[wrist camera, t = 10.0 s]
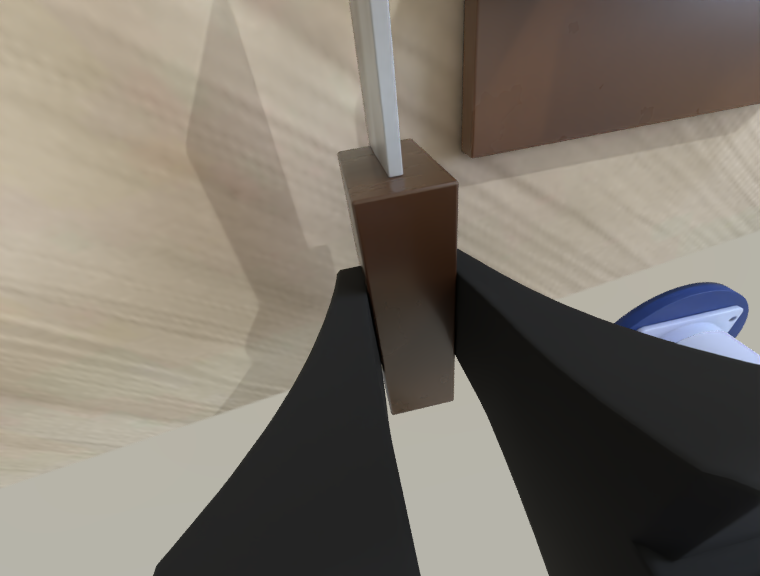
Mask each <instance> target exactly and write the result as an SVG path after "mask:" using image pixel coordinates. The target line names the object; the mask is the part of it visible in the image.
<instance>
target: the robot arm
mask: <svg viewBox="0 0 760 576" xmlns="http://www.w3.org/2000/svg"><path fill="white" fill-rule="evenodd" d="M742 312H743V309H742V308H741V307H739V306H737V305H736V306H730V307H726V308H722V309H718V310H713V311H709V312H705V313H700V314H696V315H692V316H687V317H683V318H679V319H674V320H670V321H666V322H662V323H657V324H653V325H649V326H644V327H641V328H639V329H637V330H636V331H635V330H632V329H629V328H626V327H622V326H619V325H617V324H614V323H611V322H608V321H605V320H602V319H600V318H597V317H594V316H592V315H589V314H587V313H584V312H581V311H579V310H577V309H574V308H572V307H569V306H566V305H564V304H562V303H560V302H557V301H555V300H553V299H551V298H549V297H546V296H544V295H542V294H540V293H538V292H536V291H534V290H532V289H530V288H528V287H526V286H524V285H522V284H520V283H518V282H516V281H514V280H512V279H510V278H508V277H506V276H505V275H503V274H501V273H499V272H497V271H496V270H494V269H492V268H490V267H489V266H487V265H485V264H483V263H482V262H480V261H478V260H476V259H475V258H473V257H471V256H470V255H468V254H466V253H464V252H463V251H461V250H459V249H457V271H456V316H455V355H456V357H457V359H458V361H459V363H460V364H461V366H462V368H463V370H464V372H465V374H466V376H467V378H468V379H469V381H470V383H471V385H472V387H473V389H474V391H475V392H476V394H477V396H478V398H479V400H480V402H481V404H482V406H483V408H484V410H485V412H486V414H487V416H488V419H489V421H490V423H491V426H492V428H493V431H494V433H495V435H496V438H497V440H498V443H499V445H500V447H501V450H502V452H503V455H504V457H505V460H506V462H507V465H508V467H509V470H510V472H511V475H512V477H513V480H514V483H515V485H516V488H517V490H518V493H519V495H520V498H521V501H522V503H523V506H524V509H525V511H526V514H527V517H528V519H529V522H530V525H531V527H532V530H533V532H534V535H535V538H536V540H537V543H538V546H539V549H540V552H541V555H542V557H543V560H544V563H545V566H546V569H547V571H548V574H549V576H760V355H759V354H757V353H756V352H754V351H753V350H751V349H750V348H748V347H747V346H745V345H744V344H742V343H741V342H740V341H738V340H737V339H735V338H734V337H732V336H731V335H729V334H728V331H729V330H730V329H731V327H732V326H733V324H734V323H735V322H736V320H737V319H738V318H739V316H740V315H741V314H742ZM153 576H421V575H420V571H419V566H418V562H417V557H416V552H415V548H414V543H413V538H412V533H411V529H410V524H409V519H408V515H407V510H406V505H405V501H404V497H403V491H402V487H401V482H400V477H399V472H398V468H397V463H396V459H395V454H394V449H393V445H392V440H391V434H390V428H389V421H388V414H387V405H386V397H385V389H384V381H383V373H382V365H381V359H380V354H379V349H378V344H377V339H376V334H375V329H374V323H373V318H372V313H371V308H370V303H369V298H368V293H367V287H366V283H365V279H364V276H363V272H362V268H361V266H358V267H353V268H348V269H343V270H340V271H339V272H338V274H337V279H336V285H335V289H334V293H333V296H332V300H331V303H330V306H329V309H328V311H327V314H326V317H325V320H324V323H323V325H322V328H321V330H320V332H319V335H318V337H317V339H316V341H315V344H314V346H313V348H312V350H311V353H310V355H309V357H308V359H307V361H306V363H305V365H304V366H303V368H302V370H301V372H300V374H299V376H298V377H297V379H296V381H295V383H294V385H293V386H292V388H291V390H290V391H289V393H288V395H287V396H286V398H285V400H284V401H283V403H282V404H281V406H280V407H279V409H278V411H277V412H276V414H275V416H274V417H273V418H272V420H271V421H270V423H269V424H268V426H267V427H266V429H265V430H264V432H263V433H262V435H261V436H260V437H259V439H258V440H257V441H256V443H255V444H254V445H253V447H252V448H251V450H250V451H249V452H248V454H247V455H246V456H245V458H244V459H243V460H242V462H241V463H240V465H239V466H238V467H237V469H236V470H235V471H234V473H233V474H232V475H231V477H230V478H229V479H228V481H227V482H226V483H225V484H224V486H223V487H222V488H221V489H220V491H219V492H218V493H217V494H216V496H215V497H214V498H213V499H212V500H211V501H210V503H209V504H208V505H207V506H206V507H205V509H204V510H203V511H202V512H201V513H200V515H199V516H198V517H197V518H196V519H195V521H194V522H193V523H192V524H191V525H190V527H189V528H188V529H187V530H186V531H185V533H184V534H183V535H182V536H181V537H180V539H179V540H178V541H177V542H176V543H175V545H174V546H173V547H172V548H171V549H170V551H169V552H168V553H167V554H166V555H165V556H164V558H163V559H162V560H161V561H160V562H159V563H158V565H157V566H156V569H155V572H154V575H153Z"/></svg>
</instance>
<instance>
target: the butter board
mask: <svg viewBox="0 0 760 576" xmlns="http://www.w3.org/2000/svg"><path fill="white" fill-rule="evenodd" d="M759 103H760V0H465V8H464V56H463V104H462V152H463V153H465V154H466V155H468V156H469V157H471V158H477V157H482V156H487V155H493V154H498V153H503V152H508V151H514V150H519V149H524V148H529V147H534V146H540V145H545V144H550V143H555V142H561V141H566V140H571V139H576V138H581V137H587V136H592V135H597V134H602V133H608V132H613V131H618V130H623V129H628V128H634V127H639V126H644V125H649V124H655V123H660V122H665V121H670V120H675V119H681V118H686V117H691V116H696V115H702V114H707V113H712V112H717V111H722V110H728V109H733V108H738V107H743V106H748V105H754V104H759Z"/></svg>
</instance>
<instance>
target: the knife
mask: <svg viewBox="0 0 760 576" xmlns="http://www.w3.org/2000/svg"><path fill="white" fill-rule="evenodd" d="M349 5H350V12H351V19H352V26H353V33H354V40H355V48H356V55H357V62H358V69H359V76H360V83H361V90H362V98H363V105H364V112H365V119H366V126H367V133H368V141H369V145H370V146H367V147H362V148H357V149H351V150H346V151H340V152H338V160H339V165H340V170H341V175H342V180H343V185H344V190H345V195H346V200H347V205H348V210H349V215H350V220H351V225H352V230H353V235H354V240H355V245H356V250H357V255H358V260H359V265H360V266H361V268H362V272H363V276H364V279H365V283H366V287H367V293H368V298H369V303H370V308H371V313H372V318H373V323H374V329H375V334H376V339H377V344H378V349H379V354H380V359H381V365H382V373H383V379H384V384H385V388H386V393H387V397H388V401H389V405H390V410H391V413H392V415H395V414H399V413H404V412H408V411H412V410H416V409H421V408H424V407H429V406H433V405H437V404H441V403H446V402H450V401H453V400H454V361H455V360H454V359H455V316H456V271H457V225H458V182H457V180H456V179H454V178H453V177H452V176H451V175H450V174H449V173H448V172H447V171H446V170H445V169H444V168H443V167H442V166H440V165H439V164H438V163H437V162H436V161H435V160H434V159H433V158H432V157H431V156H430V155H429V154H427V153H426V152H425V151H424V150H423V149H422V148H421V147H420V146H419V145H418V144H417V143H416V142H415V141H413V140H412V139H405V140H400V130H399V118H398V106H397V94H396V82H395V70H394V58H393V46H392V34H391V22H390V10H389V0H349Z"/></svg>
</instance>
